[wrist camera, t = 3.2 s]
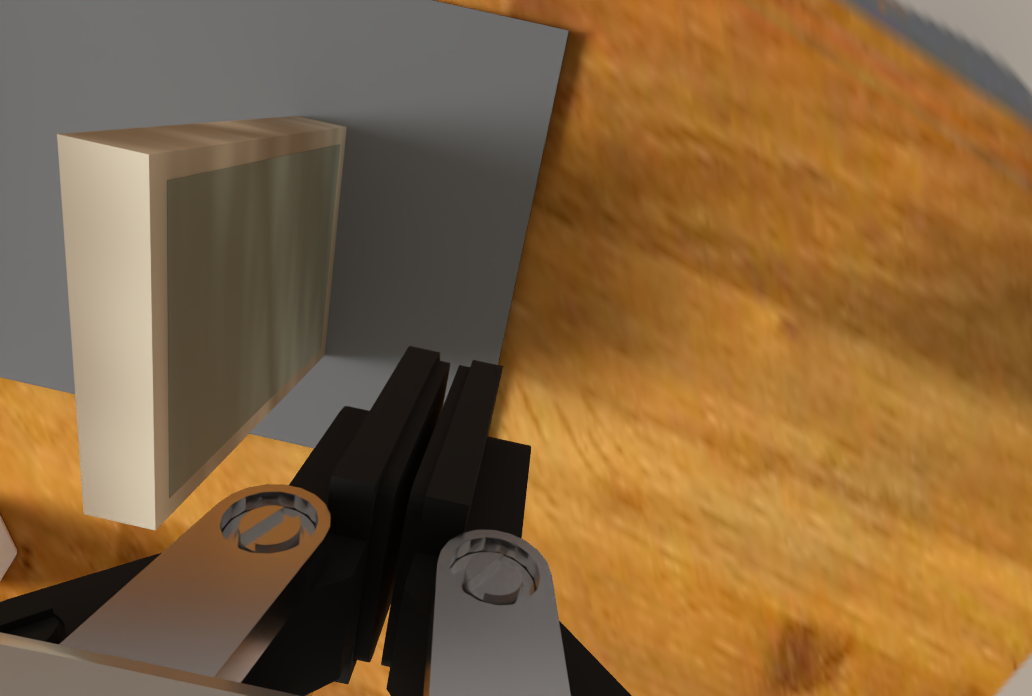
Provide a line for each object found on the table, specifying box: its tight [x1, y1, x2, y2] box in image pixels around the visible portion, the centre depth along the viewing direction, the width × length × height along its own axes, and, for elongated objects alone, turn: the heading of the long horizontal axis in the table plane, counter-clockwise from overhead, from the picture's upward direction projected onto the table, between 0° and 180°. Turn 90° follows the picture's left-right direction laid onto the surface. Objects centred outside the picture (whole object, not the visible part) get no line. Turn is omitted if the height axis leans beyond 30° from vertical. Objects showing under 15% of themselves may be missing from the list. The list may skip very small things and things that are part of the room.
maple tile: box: [57, 116, 347, 530], centre depth 17 cm, size 2×8×10 cm, turn 168°
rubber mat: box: [0, 0, 569, 448], centre depth 22 cm, size 24×16×1 cm, turn 78°
